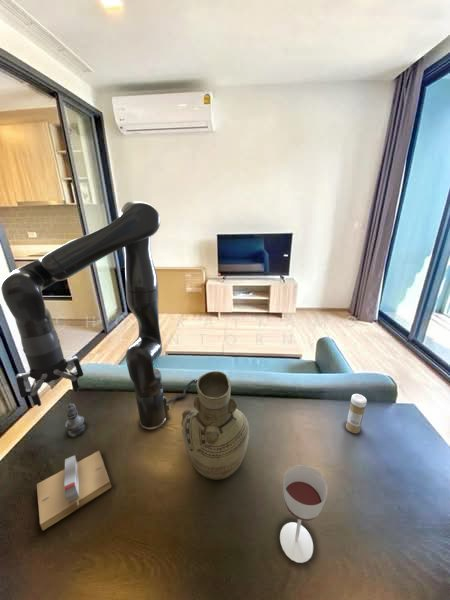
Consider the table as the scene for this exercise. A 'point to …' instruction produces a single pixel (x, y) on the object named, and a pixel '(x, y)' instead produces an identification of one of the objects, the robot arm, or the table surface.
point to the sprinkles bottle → (356, 413)
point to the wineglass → (301, 509)
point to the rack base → (53, 495)
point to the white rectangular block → (71, 479)
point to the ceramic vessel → (215, 428)
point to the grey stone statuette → (74, 421)
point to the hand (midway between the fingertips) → (58, 397)
